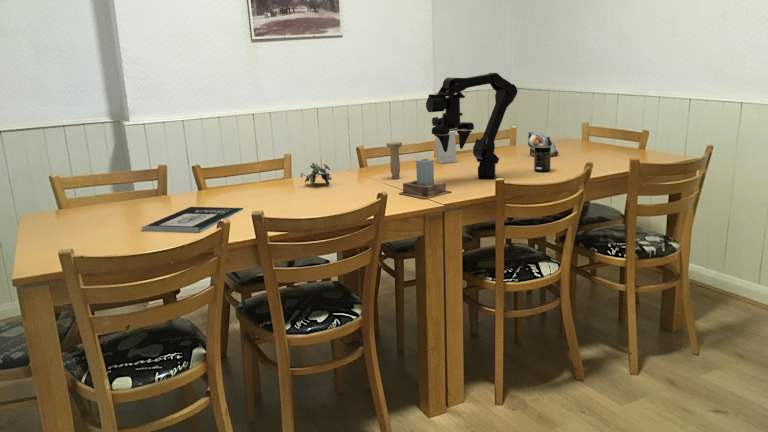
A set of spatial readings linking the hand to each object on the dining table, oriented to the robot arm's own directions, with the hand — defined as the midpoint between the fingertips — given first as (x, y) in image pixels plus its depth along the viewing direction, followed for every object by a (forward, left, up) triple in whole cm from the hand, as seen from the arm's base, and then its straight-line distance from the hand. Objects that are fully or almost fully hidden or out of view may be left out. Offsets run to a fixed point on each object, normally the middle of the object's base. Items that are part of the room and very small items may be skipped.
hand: (453, 150), depth 252 cm
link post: (+7, +20, -12) cm, 25 cm away
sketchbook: (+77, +66, -14) cm, 102 cm away
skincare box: (+12, -44, -13) cm, 48 cm away
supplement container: (-33, -25, -13) cm, 43 cm away
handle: (+26, -6, -13) cm, 30 cm away
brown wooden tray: (+7, +20, -13) cm, 25 cm away
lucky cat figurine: (-31, -63, -13) cm, 72 cm away
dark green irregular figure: (+55, +10, -13) cm, 57 cm away
